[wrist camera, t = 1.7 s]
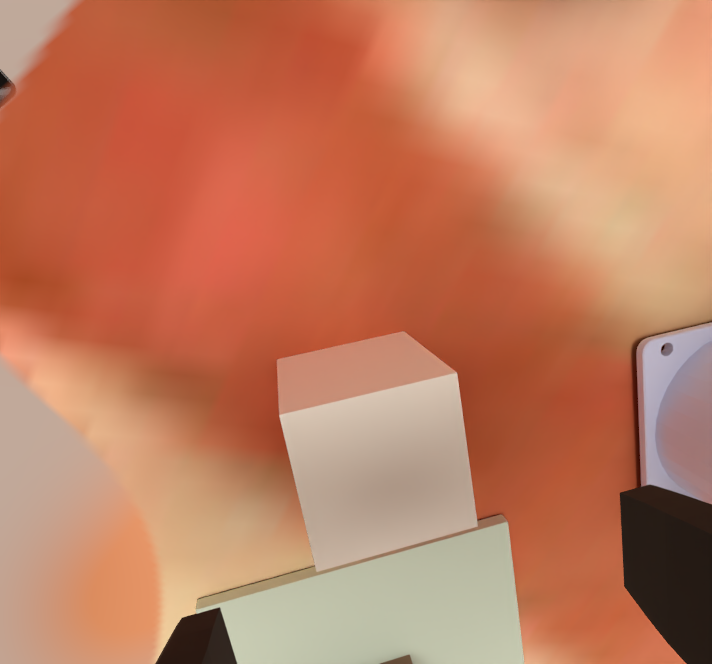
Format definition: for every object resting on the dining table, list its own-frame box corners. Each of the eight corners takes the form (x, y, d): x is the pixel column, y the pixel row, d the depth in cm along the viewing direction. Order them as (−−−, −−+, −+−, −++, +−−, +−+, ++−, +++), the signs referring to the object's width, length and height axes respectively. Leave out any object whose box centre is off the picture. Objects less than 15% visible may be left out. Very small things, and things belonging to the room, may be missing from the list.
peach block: (403, 330, 17) (457, 372, 12) (421, 445, 18) (478, 526, 13) (276, 358, 16) (279, 414, 11) (303, 475, 17) (316, 572, 12)
